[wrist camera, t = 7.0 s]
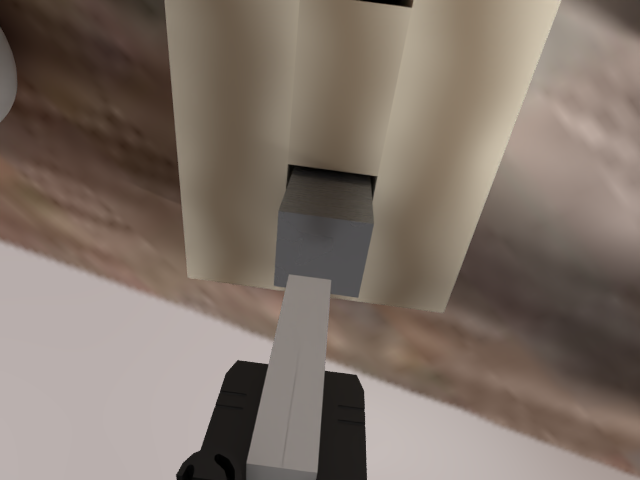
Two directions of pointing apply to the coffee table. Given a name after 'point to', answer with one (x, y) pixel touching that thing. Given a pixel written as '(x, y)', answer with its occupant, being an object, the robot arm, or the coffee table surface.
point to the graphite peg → (325, 228)
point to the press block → (347, 125)
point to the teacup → (6, 77)
